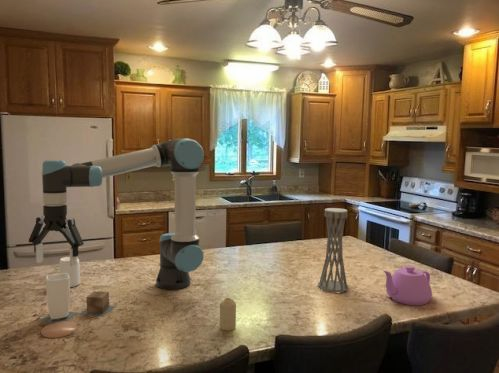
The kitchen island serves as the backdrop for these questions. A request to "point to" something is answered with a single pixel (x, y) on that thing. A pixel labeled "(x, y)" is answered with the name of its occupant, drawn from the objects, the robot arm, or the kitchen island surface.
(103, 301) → the walnut block
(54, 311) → the cup
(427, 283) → the teapot
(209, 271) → the kitchen island surface
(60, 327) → the salmon round part
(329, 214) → the grey lattice tower
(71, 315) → the code tile
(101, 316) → the code tile
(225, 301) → the candle
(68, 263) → the beverage can
